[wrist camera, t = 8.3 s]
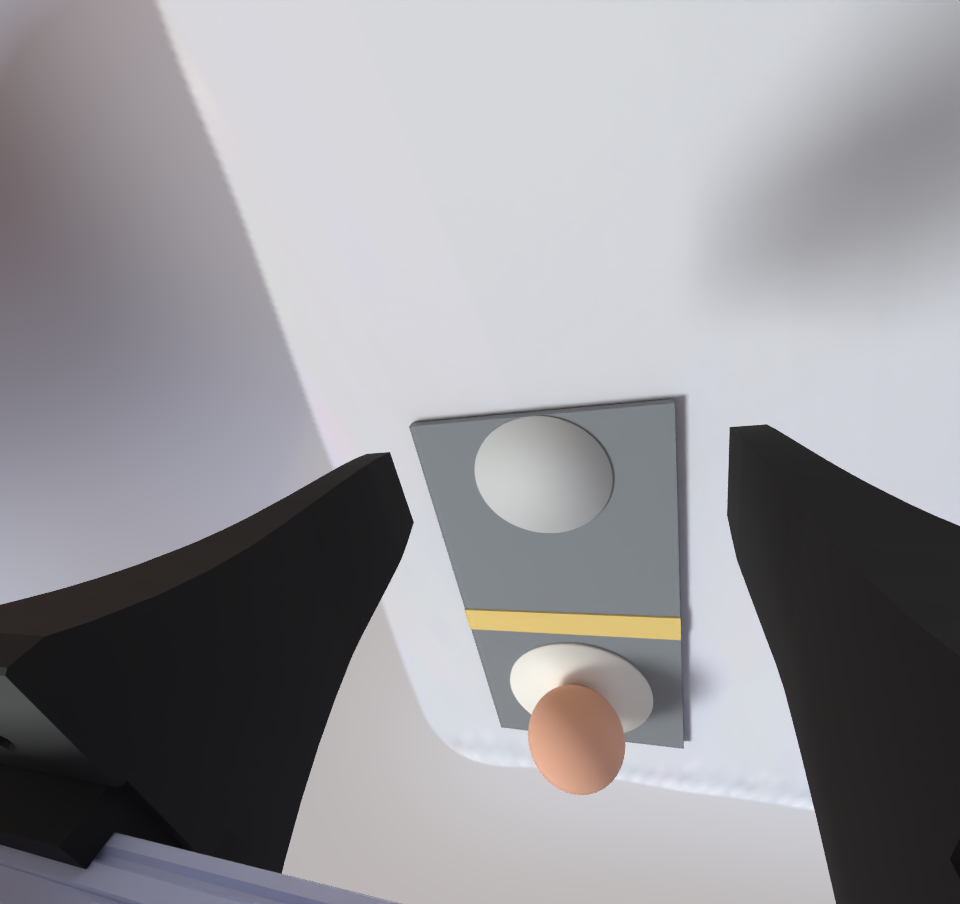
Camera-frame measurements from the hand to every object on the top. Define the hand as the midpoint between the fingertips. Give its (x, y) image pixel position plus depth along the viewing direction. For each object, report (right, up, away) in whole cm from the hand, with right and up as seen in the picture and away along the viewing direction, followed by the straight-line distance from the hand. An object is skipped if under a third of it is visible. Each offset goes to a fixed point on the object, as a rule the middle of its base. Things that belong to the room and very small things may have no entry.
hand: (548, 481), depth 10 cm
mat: (+3, -7, +15) cm, 17 cm away
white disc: (+4, -13, +17) cm, 22 cm away
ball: (+4, -14, +15) cm, 21 cm away
